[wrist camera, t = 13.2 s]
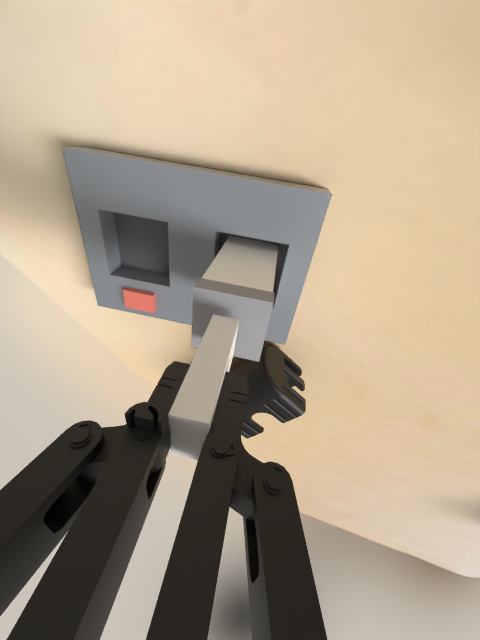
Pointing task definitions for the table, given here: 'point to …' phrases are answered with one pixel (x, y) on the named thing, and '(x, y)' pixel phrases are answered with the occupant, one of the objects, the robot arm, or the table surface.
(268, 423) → the table surface
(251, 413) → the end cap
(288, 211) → the socket plate
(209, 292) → the plug
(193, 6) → the table surface
